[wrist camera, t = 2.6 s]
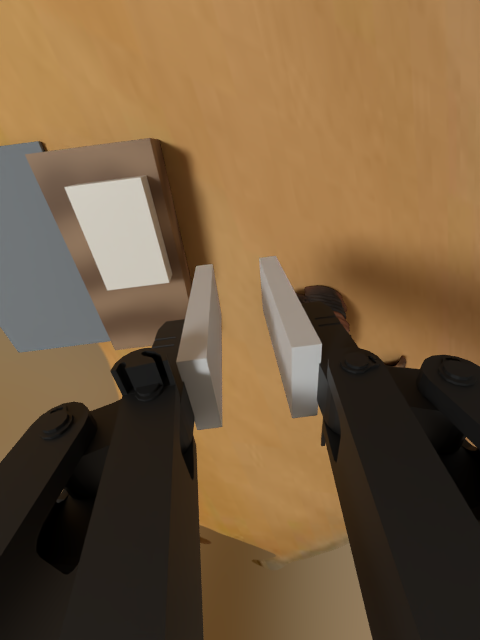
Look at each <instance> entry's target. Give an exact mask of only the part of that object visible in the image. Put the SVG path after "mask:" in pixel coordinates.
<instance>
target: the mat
mask: <svg viewBox="0 0 480 640" xmlns="http://www.w3.org/2000/svg"><path fill="white" fill-rule="evenodd" d="M39 152H45V151H44V148H43V146H42V144H41V142H40V141H37V142H30V143H22V144H14V145H7V146H0V327H1V328H2V330H3V331H4V333H5V334H6V335H7V336H8V338H9V339H10V341H11V342H12V344H13V345H14V347H15V348H16V349H17V351H18V352H27V351H35V350H43V349H51V348H59V347H67V346H75V345H82V344H90V343H99V342H107V341H111V340H110V338H109V336H108V334H107V332H106V329H105V327H104V325H103V323H102V321H101V319H100V316H99V314H98V312H97V310H96V308H95V306H94V303H93V301H92V299H91V297H90V295H89V293H88V290H87V288H86V286H85V284H84V282H83V280H82V277H81V275H80V273H79V271H78V269H77V267H76V264H75V262H74V260H73V258H72V256H71V254H70V251H69V249H68V247H67V245H66V243H65V241H64V238H63V236H62V234H61V232H60V230H59V228H58V225H57V223H56V221H55V219H54V217H53V215H52V212H51V210H50V208H49V206H48V204H47V202H46V199H45V197H44V195H43V193H42V191H41V188H40V186H39V184H38V182H37V180H36V178H35V175H34V173H33V171H32V169H31V167H30V165H29V162H28V160H27V158H26V156H25V154H32V153H39Z"/></svg>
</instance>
